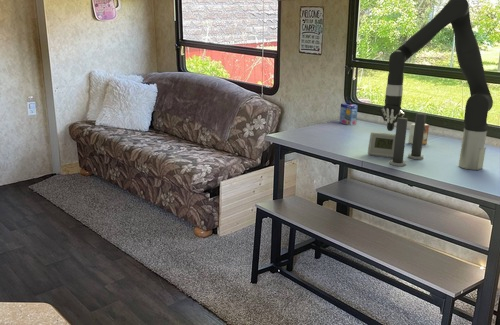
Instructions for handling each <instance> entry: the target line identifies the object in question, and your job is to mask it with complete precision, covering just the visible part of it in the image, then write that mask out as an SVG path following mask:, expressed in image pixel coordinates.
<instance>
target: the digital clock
mask: <svg viewBox="0 0 500 325" xmlns="http://www.w3.org/2000/svg"><path fill="white" fill-rule="evenodd" d="M395 135H396V133H395V134H393V133H385V132H375V131H374V132H370V136H369V141H368V147H367V154H368V155H371V156H375V157H382V158H388V159H389V158H390V159H393V154H394V145H395Z"/></svg>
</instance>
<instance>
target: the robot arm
mask: <svg viewBox="0 0 500 325" xmlns="http://www.w3.org/2000/svg"><path fill="white" fill-rule="evenodd" d="M470 15H471V14H470V5H469V1H468V0H448V1H447V3H445V5H444V6H443V7H442V8H441V10H440V11H438V13H437V14H436V15H435V16H434V17H433V18H432V19H431V20H430V21H428V22H427V23H426V24H425V25H423V26H422V27H421V28H420V29H419V30H418V31H416V32H415V33H414V34H412V36H410V37H409V38H408V39H407V40H406V41H405V42H404V43H403V44H402V45H401V46H399V47H398V48H396V50H394V51H392V53H391V54H390V55H389V58H388V75H387V82H386V83H387V84H386V89H385V96H384V97H385V98H384V105H383V108H381V109H379V111H378V112H379V114H380V115H381V117H382V119H383V121H384V122H387V124H386V130H387V131H389V132H392V131H393V130H394V129H395V124H397V118H404V116H405V115H406V112H403V110H402V100H403V93H404V92H403V91H404V87H403V86H404V70H405V64H406V62H407V61H408V60H409V59H410V58H412V56H413V55H415V54H416V53H419V51H420V50H421V49H423V48H425V46H427V45H428V44H429V43H430V42H431V41H432V40H433V39H435V37H436V36H437V35H438V34H439V33H440V32H441V31H442V30H443V29H444V28H446V27H447V26H448V25H450V24H451V27H452V30H453V35H454V46H455V47H454V49H455V53H456V58H457V62H458V66H459V68H460V71H461V73H462V75H463V76H464V78H465V80H466V82H467V84H468V88H469V94H470V96H469V97H468V99H467V100H466V104H465V109H464V116H463V123H464V124H463V125H464V127H463V133H462V141H461V148H460V153H459V160H458V161H459V162H458V167H459V168H461V169H466V170H471V171H472V170H473V171H478V170H480V169H483V167H484V160H485V155H486V149H487V147H485V145H486V139H487V133H488V123H487V120H488V114H489V113H488V112H490V110H491V109H492V107H493V104H494V100H493V97H492V94H491V91H490V89H489V86H488V82H487V78H486V76H485V75H486V74H485V69H484V64H483V60H482V54H481V50H480V47H479V44H478V41H477V38H476V36H475V33H474V31H473V27H472V23H471V22H472V21H471V16H470Z"/></svg>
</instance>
